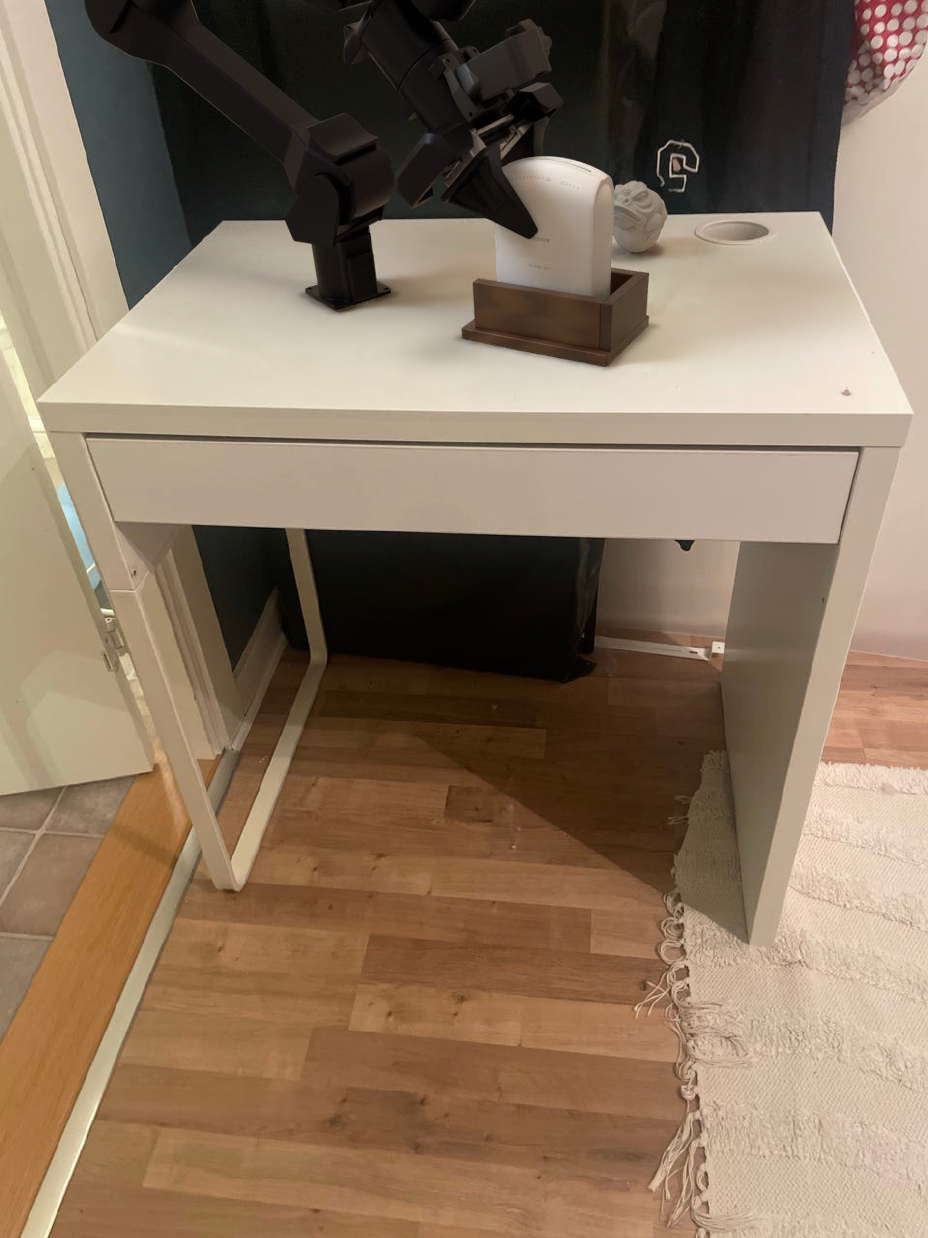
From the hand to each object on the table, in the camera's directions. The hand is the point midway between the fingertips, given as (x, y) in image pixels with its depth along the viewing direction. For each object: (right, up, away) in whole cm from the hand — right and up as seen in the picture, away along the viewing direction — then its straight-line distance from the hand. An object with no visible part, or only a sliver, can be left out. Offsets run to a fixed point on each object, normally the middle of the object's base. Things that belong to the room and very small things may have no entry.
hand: (546, 226), depth 79 cm
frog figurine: (+11, +5, +20) cm, 23 cm away
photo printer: (+1, -6, +4) cm, 7 cm away
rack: (+1, -7, +5) cm, 9 cm away
